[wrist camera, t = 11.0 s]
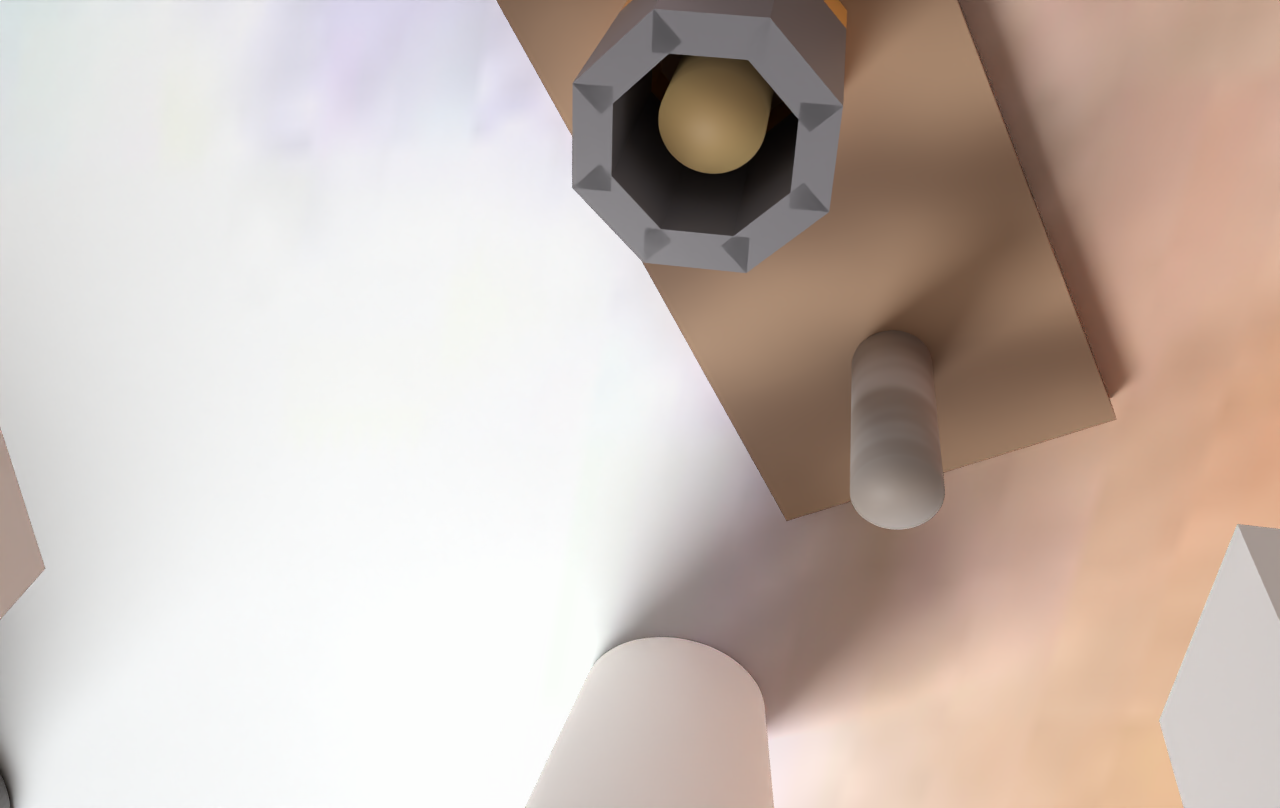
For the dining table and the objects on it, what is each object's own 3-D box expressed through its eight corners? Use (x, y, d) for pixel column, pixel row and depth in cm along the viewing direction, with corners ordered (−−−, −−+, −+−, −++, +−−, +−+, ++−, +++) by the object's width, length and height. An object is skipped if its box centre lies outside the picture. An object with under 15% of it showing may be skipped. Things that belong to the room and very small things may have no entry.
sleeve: (633, -73, 28) (572, 2, 22) (855, -57, 27) (854, 23, 21) (627, 139, 31) (572, 255, 25) (828, 157, 30) (820, 280, 24)
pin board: (1110, 400, 33) (1162, 558, 28) (788, 501, 37) (774, 659, 31) (868, -236, 26) (870, -203, 20) (495, -30, 30) (406, 49, 24)
